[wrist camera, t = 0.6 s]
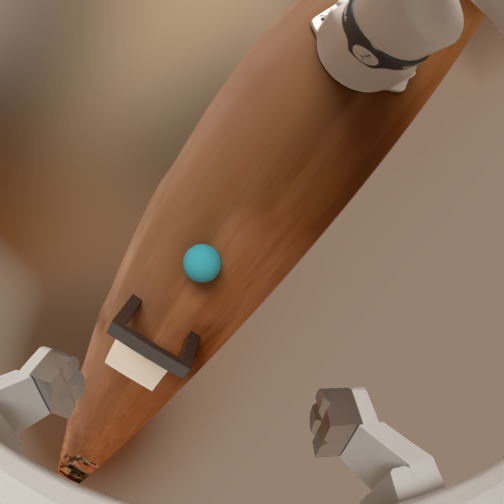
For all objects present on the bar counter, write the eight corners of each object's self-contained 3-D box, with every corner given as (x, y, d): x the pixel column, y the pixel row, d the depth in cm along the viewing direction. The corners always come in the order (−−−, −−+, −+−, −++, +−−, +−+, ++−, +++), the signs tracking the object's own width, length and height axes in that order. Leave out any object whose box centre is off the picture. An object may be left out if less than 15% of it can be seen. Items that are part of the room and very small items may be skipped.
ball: (199, 232, 46) (191, 243, 41) (230, 252, 47) (226, 266, 42) (181, 260, 48) (171, 274, 42) (210, 279, 49) (205, 296, 43)
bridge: (133, 294, 50) (111, 321, 41) (200, 336, 53) (190, 369, 44) (127, 304, 51) (106, 332, 42) (192, 345, 54) (182, 379, 45)
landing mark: (121, 327, 53) (121, 327, 53) (175, 360, 55) (175, 361, 55) (104, 361, 57) (104, 362, 56) (152, 390, 59) (152, 391, 59)
